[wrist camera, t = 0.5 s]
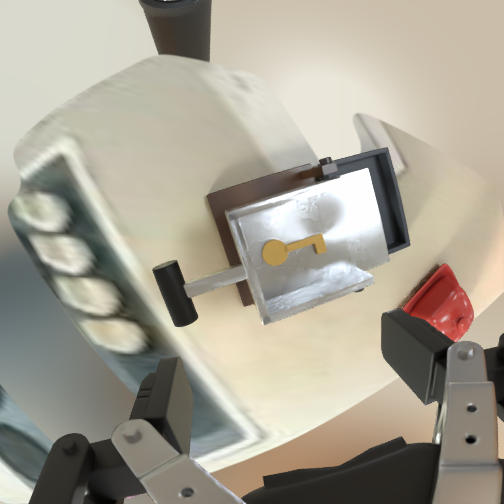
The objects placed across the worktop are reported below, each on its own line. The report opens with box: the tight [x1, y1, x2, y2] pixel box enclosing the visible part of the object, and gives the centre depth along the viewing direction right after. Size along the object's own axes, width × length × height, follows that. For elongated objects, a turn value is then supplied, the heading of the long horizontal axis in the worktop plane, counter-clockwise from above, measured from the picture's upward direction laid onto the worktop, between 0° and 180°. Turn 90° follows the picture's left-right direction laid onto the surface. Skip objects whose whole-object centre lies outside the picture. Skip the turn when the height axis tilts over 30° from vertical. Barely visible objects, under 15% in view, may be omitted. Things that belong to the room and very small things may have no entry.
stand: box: [207, 157, 364, 307], centre depth 34 cm, size 13×14×9 cm
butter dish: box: [402, 264, 474, 342], centre depth 39 cm, size 12×12×8 cm
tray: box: [318, 147, 410, 255], centre depth 38 cm, size 13×9×2 cm
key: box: [262, 233, 327, 266], centre depth 29 cm, size 6×3×1 cm, turn 107°
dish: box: [152, 168, 390, 327], centre depth 28 cm, size 22×10×5 cm, turn 107°
